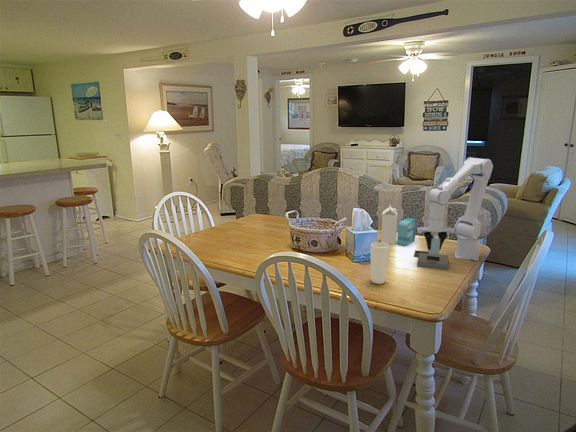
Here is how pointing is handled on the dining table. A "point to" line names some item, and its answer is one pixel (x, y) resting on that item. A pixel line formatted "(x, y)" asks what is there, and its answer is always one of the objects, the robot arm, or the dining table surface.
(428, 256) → the port block
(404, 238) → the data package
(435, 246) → the plug
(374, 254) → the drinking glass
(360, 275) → the dining table surface
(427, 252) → the square shadow box
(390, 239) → the milk carton
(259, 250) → the dining table surface
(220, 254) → the dining table surface
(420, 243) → the dining table surface
